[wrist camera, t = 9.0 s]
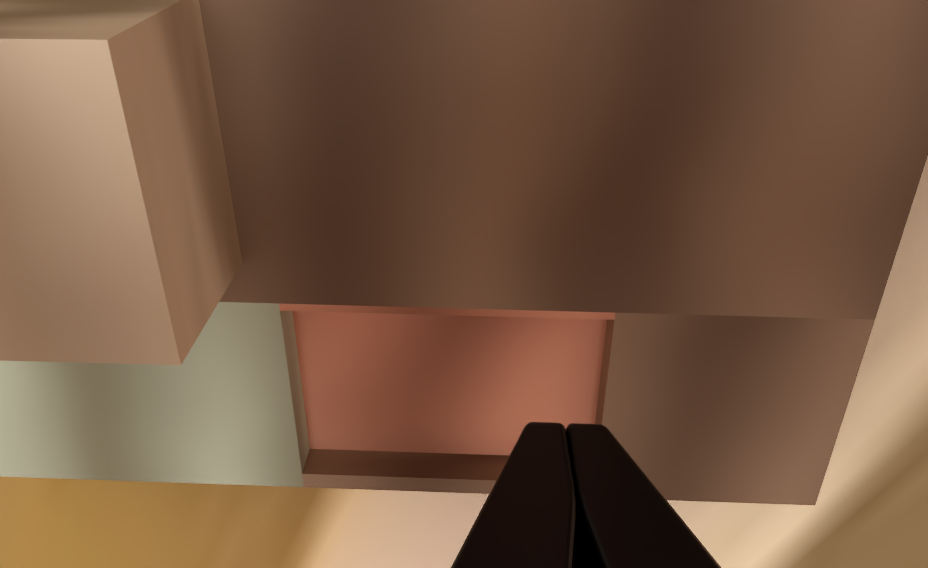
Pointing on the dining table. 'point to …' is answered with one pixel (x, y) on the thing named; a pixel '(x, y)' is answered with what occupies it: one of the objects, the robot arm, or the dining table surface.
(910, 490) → the dining table surface
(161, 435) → the trap deck
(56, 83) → the maple block
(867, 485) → the dining table surface
